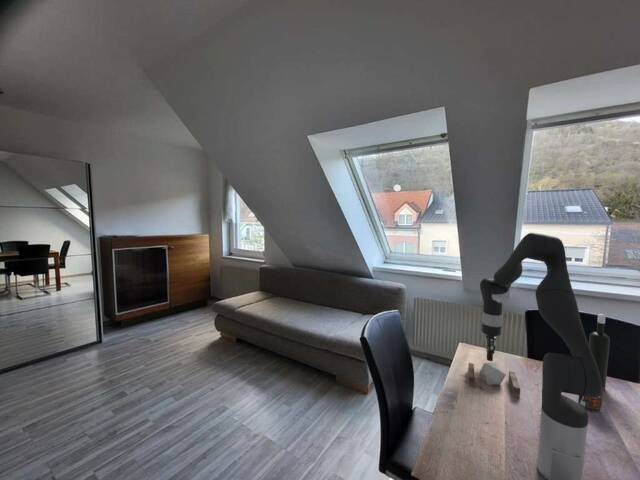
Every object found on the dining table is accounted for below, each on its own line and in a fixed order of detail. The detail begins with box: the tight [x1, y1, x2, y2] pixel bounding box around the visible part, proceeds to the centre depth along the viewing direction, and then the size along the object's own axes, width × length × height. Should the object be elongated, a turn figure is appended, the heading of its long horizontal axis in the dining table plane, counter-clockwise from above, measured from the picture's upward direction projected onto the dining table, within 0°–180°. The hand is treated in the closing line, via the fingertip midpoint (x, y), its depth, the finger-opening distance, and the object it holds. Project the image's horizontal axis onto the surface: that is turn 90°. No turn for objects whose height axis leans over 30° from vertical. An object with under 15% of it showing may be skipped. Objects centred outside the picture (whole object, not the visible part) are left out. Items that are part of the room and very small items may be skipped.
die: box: [478, 362, 507, 386], centre depth 117 cm, size 8×9×10 cm
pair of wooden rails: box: [467, 362, 521, 399], centre depth 116 cm, size 12×17×4 cm
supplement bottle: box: [577, 387, 604, 413], centre depth 101 cm, size 6×6×11 cm
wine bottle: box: [588, 313, 611, 391], centre depth 113 cm, size 6×6×30 cm
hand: (489, 360), depth 127 cm, fingers closed
